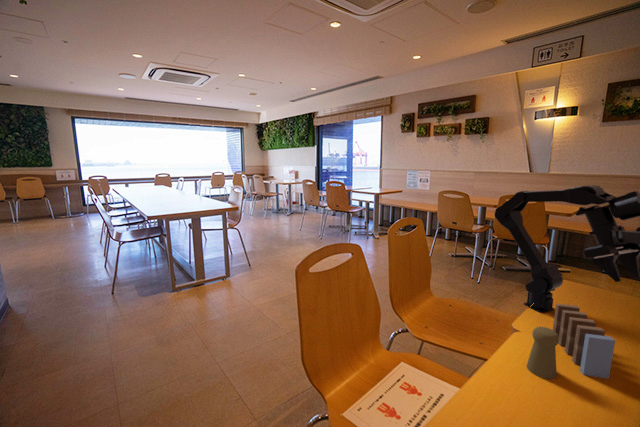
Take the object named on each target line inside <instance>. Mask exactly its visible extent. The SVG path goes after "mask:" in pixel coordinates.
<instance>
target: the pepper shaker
mask: <svg viewBox="0 0 640 427" xmlns="http://www.w3.org/2000/svg"><path fill="white" fill-rule="evenodd" d="M532 338H533V344H532V347H531V350H530V354H529V357H528V360H527V363H526V368H527V370H528V371H529V372H530V373H531V374H533V375H534V376H537V377H538V378H542V379H544V380H545V379H546V380H554V379H556V378H557V376H558V375H557V374H558V373H557V353H556V352H557V350H556V347H557V346H558V344H559V336H558V334H557V333H556V332H555V331H554V330H553V328H552V329H551V328H550V327H546V326H536V327H535V328H533V331H532Z"/></svg>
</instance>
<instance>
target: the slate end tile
mask: <svg viewBox="0 0 640 427" xmlns="http://www.w3.org/2000/svg"><path fill="white" fill-rule="evenodd" d="M615 345H616V339H614V338H613V337H612V336H609V335H608V336H607V335H604V336H601V335H593V334H585V340H584V347H583V353H582V360H581V365H579V366H580V367H579V371H580V373H581V374H582V375H583V376H589V377H593V378H594V377H596V378H602V379H608V380H609V379H610V374H611V368H612V363H613V355H614V350H615Z"/></svg>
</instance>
